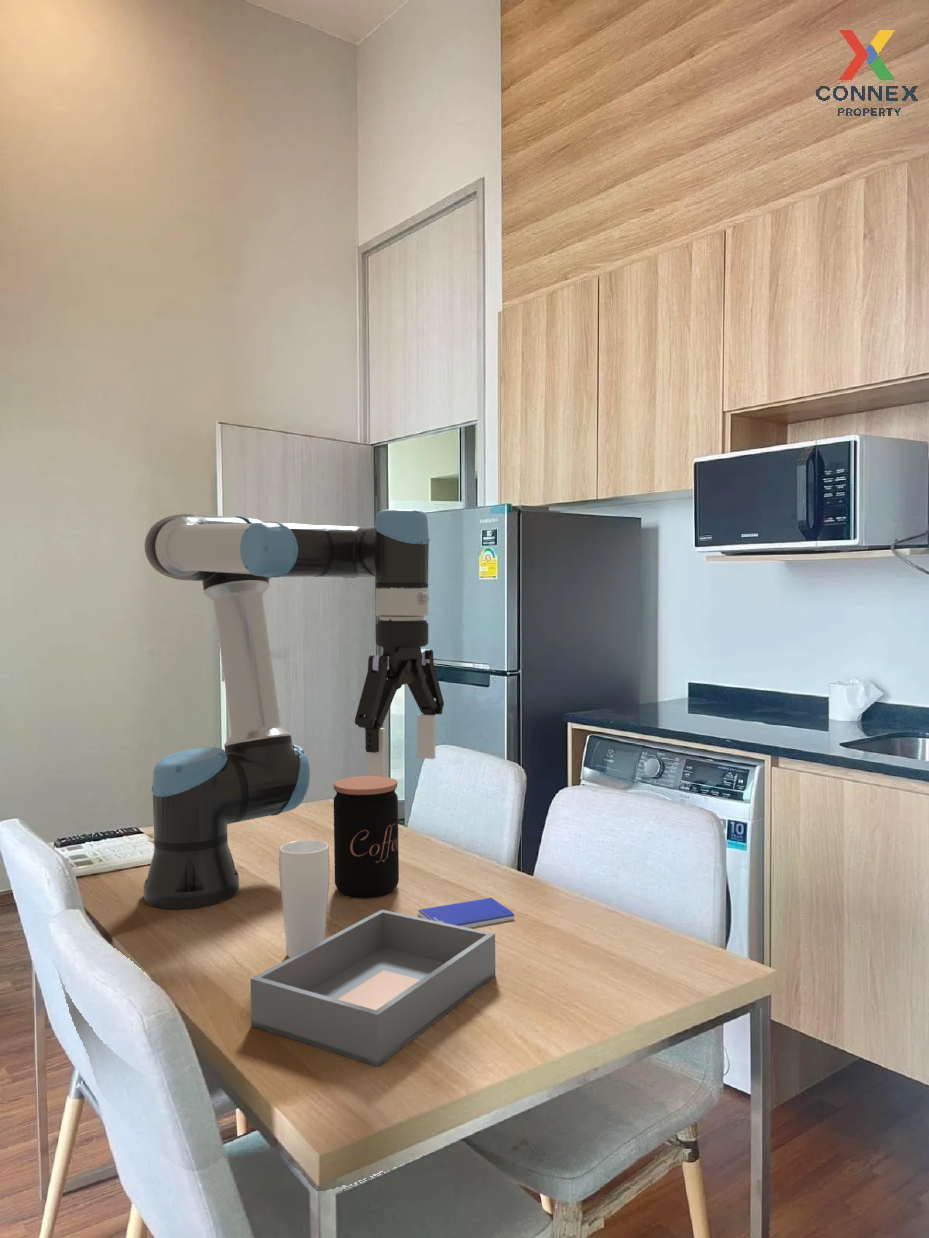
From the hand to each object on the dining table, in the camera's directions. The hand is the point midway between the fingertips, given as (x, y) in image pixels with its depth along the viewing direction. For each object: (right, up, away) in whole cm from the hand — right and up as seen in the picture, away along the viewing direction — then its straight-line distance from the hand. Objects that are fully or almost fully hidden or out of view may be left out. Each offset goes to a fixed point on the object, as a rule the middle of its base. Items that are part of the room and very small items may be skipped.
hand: (402, 766), depth 130 cm
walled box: (-1, -25, -20) cm, 32 cm away
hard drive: (+9, -25, +8) cm, 28 cm away
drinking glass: (-13, -25, -6) cm, 29 cm away
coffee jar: (-7, -24, +21) cm, 33 cm away
